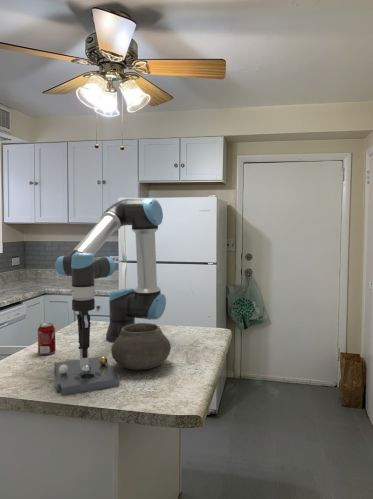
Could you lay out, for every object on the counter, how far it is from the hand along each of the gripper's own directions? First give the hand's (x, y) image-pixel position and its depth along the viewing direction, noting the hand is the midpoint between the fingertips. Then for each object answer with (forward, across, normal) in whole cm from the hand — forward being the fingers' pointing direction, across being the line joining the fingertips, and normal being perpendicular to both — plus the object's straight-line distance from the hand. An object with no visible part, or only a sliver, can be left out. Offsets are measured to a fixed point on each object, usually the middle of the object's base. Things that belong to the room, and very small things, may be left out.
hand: (84, 366), depth 133 cm
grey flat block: (+4, 0, 0) cm, 4 cm away
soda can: (+4, -33, -10) cm, 35 cm away
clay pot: (+4, -2, +21) cm, 22 cm away
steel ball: (0, +3, 0) cm, 3 cm away
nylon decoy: (0, 0, -7) cm, 7 cm away
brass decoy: (0, -3, +7) cm, 8 cm away
